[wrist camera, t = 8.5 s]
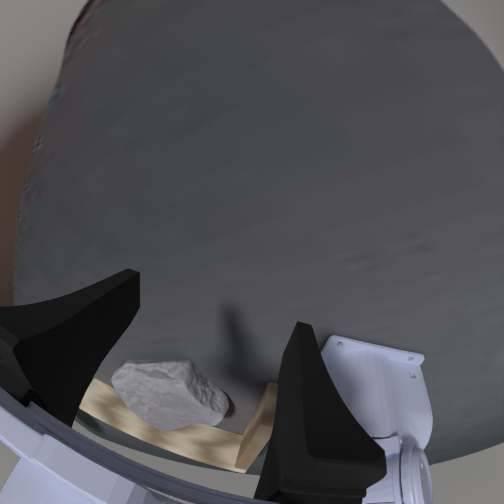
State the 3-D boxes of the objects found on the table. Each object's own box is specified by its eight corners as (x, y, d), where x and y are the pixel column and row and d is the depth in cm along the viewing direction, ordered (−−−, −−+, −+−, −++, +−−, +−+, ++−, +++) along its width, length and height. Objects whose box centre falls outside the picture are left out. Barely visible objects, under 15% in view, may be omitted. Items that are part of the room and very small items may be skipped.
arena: (283, 385, 26) (277, 428, 22) (251, 442, 33) (243, 473, 28) (77, 310, 27) (51, 338, 23) (96, 384, 34) (79, 408, 30)
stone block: (121, 354, 32) (166, 413, 33) (98, 375, 28) (149, 437, 29) (188, 329, 28) (239, 401, 29) (165, 354, 24) (225, 431, 25)
